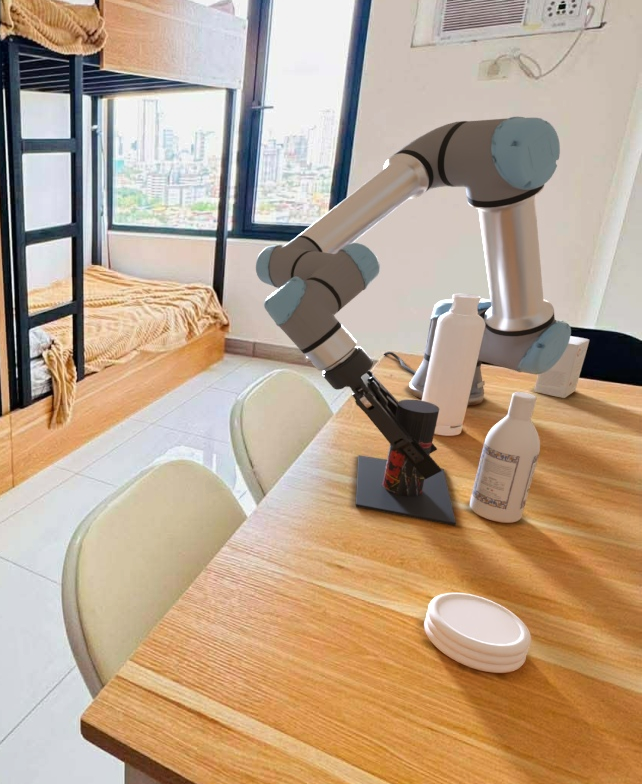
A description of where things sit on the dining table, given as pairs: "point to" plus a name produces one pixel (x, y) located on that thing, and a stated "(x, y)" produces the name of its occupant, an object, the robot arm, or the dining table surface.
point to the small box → (564, 370)
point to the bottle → (454, 362)
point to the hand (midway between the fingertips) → (431, 463)
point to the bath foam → (507, 463)
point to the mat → (424, 506)
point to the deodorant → (421, 427)
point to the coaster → (477, 632)
